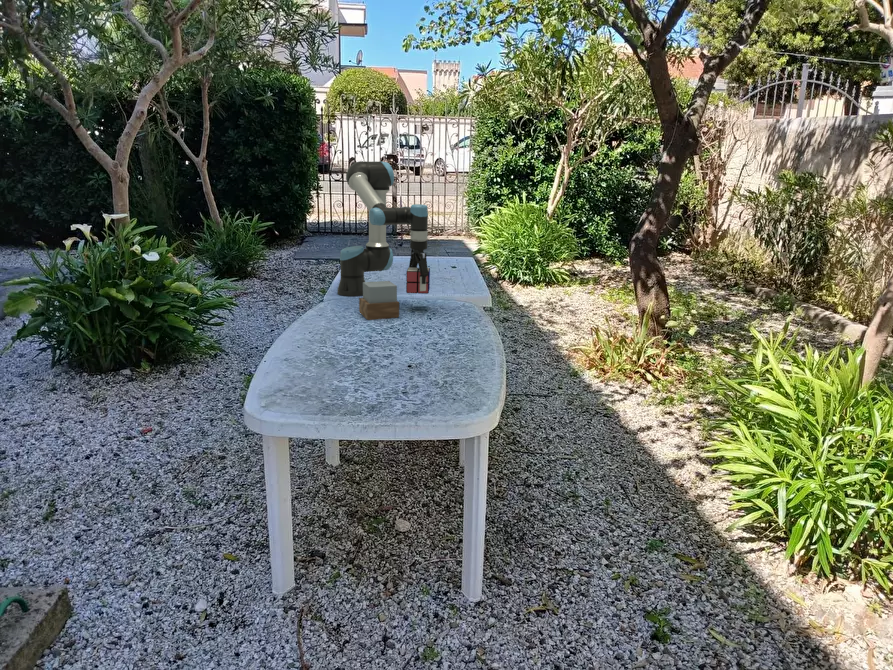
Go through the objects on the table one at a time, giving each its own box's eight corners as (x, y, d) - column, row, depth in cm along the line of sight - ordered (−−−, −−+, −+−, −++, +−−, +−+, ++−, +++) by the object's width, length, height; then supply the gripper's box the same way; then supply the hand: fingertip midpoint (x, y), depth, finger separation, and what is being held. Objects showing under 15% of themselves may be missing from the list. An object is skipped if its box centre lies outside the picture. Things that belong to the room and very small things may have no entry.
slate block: (362, 297, 280) (362, 282, 278) (389, 296, 284) (389, 280, 282) (369, 303, 269) (369, 287, 267) (396, 301, 273) (396, 285, 271)
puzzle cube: (428, 293, 282) (429, 271, 280) (406, 293, 283) (406, 271, 280) (429, 289, 292) (430, 267, 289) (407, 288, 292) (408, 267, 289)
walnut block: (359, 313, 281) (359, 297, 279) (389, 311, 286) (389, 296, 284) (367, 320, 269) (367, 304, 267) (399, 318, 274) (399, 302, 272)
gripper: (402, 236, 290) (402, 283, 296) (419, 244, 269) (419, 294, 275) (417, 236, 293) (417, 282, 299) (436, 243, 271) (435, 293, 277)
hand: (418, 287), depth 287 cm, fingers closed on puzzle cube, 12 cm apart
